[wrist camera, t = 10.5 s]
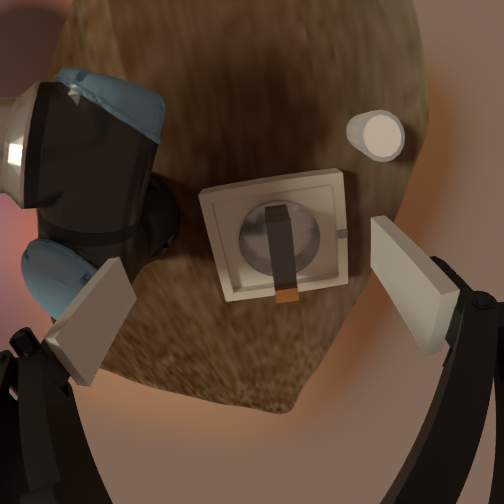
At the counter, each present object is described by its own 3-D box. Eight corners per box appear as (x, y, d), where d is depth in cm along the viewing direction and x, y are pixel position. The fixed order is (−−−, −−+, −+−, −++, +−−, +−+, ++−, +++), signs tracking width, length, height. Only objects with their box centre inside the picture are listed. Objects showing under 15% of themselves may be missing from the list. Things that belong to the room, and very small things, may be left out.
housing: (228, 289, 49) (225, 303, 45) (202, 188, 41) (197, 195, 38) (342, 272, 47) (348, 285, 43) (336, 167, 39) (343, 173, 36)
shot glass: (365, 163, 39) (384, 173, 32) (332, 133, 37) (347, 136, 31) (392, 132, 36) (414, 136, 30) (360, 101, 34) (379, 98, 28)
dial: (232, 206, 40) (226, 227, 33) (316, 195, 39) (329, 214, 32) (246, 278, 45) (243, 309, 38) (321, 268, 44) (331, 298, 37)
